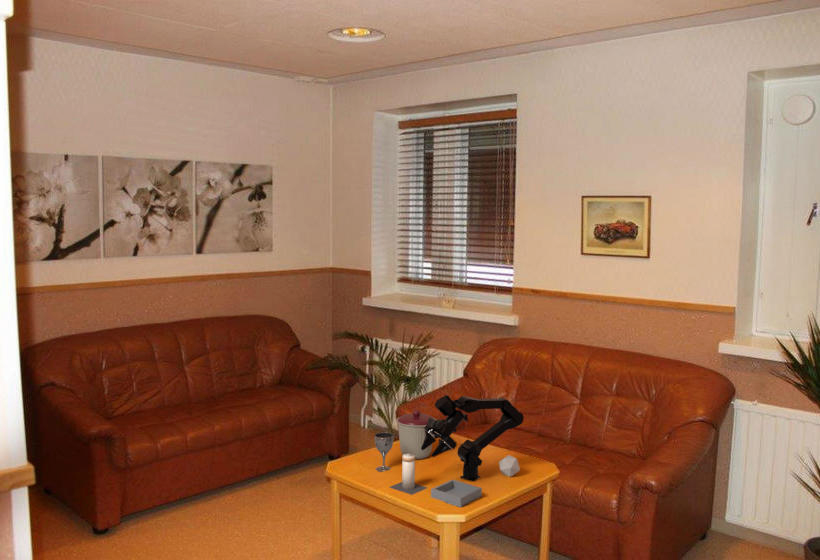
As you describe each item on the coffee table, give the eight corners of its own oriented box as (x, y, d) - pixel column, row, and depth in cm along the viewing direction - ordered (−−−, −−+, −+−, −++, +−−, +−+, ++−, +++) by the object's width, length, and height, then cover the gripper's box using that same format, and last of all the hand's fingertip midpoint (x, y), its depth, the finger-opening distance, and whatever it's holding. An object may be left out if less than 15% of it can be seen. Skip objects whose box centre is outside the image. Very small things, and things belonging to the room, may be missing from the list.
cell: (407, 484, 296) (407, 451, 295) (417, 487, 293) (417, 454, 291) (399, 487, 292) (399, 454, 291) (409, 490, 289) (409, 457, 287)
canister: (387, 454, 333) (388, 409, 331) (417, 446, 345) (417, 402, 343) (414, 465, 319) (415, 417, 318) (444, 456, 332) (444, 410, 330)
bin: (452, 487, 293) (452, 479, 293) (481, 496, 284) (481, 487, 284) (430, 497, 282) (431, 489, 282) (460, 507, 274) (460, 498, 273)
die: (523, 478, 307) (521, 455, 312) (513, 472, 301) (512, 450, 306) (506, 481, 311) (505, 459, 316) (496, 476, 305) (495, 453, 310)
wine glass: (389, 473, 309) (389, 438, 308) (371, 471, 311) (372, 436, 310) (395, 467, 316) (396, 433, 315) (378, 465, 319) (378, 431, 318)
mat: (404, 481, 300) (404, 480, 300) (427, 488, 292) (427, 487, 292) (388, 487, 292) (388, 487, 292) (412, 495, 285) (412, 494, 285)
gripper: (428, 405, 304) (404, 434, 300) (450, 416, 287) (424, 447, 283) (445, 421, 308) (421, 450, 304) (467, 433, 291) (442, 464, 287)
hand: (426, 452), depth 294 cm, fingers open, 9 cm apart
